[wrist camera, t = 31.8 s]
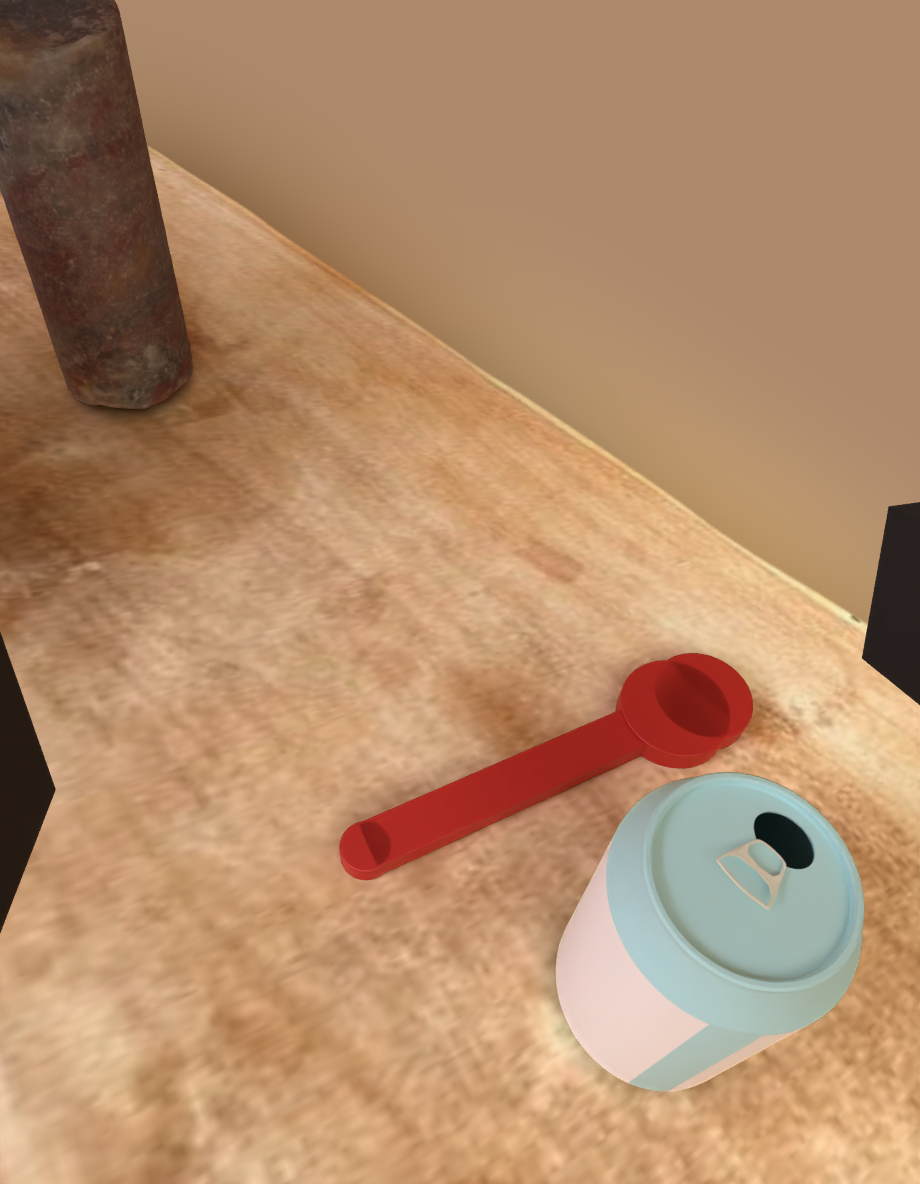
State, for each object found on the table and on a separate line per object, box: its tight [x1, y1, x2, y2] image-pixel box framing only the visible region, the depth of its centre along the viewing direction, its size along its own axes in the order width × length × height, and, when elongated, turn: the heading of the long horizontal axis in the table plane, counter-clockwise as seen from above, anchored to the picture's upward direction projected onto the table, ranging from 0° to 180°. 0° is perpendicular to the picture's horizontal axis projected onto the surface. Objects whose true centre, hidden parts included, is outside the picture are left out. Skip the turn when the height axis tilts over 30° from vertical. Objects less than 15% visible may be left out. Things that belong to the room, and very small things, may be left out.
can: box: [556, 772, 864, 1091], centre depth 26 cm, size 7×7×12 cm
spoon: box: [340, 653, 753, 880], centre depth 36 cm, size 20×5×1 cm, turn 116°
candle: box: [0, 0, 193, 410], centre depth 43 cm, size 8×7×20 cm
